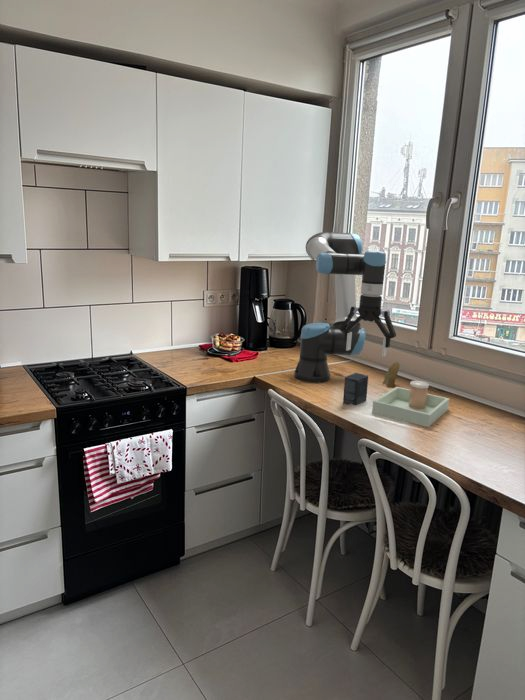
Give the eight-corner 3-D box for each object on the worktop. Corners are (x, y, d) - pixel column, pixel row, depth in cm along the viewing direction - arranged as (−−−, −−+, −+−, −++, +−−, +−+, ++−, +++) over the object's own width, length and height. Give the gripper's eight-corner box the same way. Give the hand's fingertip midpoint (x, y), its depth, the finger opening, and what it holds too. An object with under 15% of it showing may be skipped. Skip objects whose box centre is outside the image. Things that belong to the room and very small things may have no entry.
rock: (397, 386, 213) (408, 378, 220) (386, 367, 214) (398, 360, 221) (377, 396, 221) (389, 387, 228) (367, 378, 222) (378, 370, 229)
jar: (404, 406, 195) (407, 383, 193) (411, 401, 200) (413, 379, 198) (422, 410, 191) (425, 387, 189) (428, 406, 196) (431, 383, 194)
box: (353, 398, 203) (355, 372, 201) (366, 402, 200) (369, 375, 197) (342, 403, 197) (344, 376, 195) (355, 407, 194) (358, 379, 191)
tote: (371, 414, 187) (373, 401, 186) (395, 399, 205) (396, 386, 204) (428, 429, 176) (429, 415, 175) (447, 411, 194) (449, 398, 193)
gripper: (334, 292, 192) (330, 349, 198) (403, 300, 180) (396, 360, 186) (342, 290, 199) (337, 345, 204) (409, 298, 187) (402, 356, 192)
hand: (365, 352), depth 195 cm, fingers open, 13 cm apart
